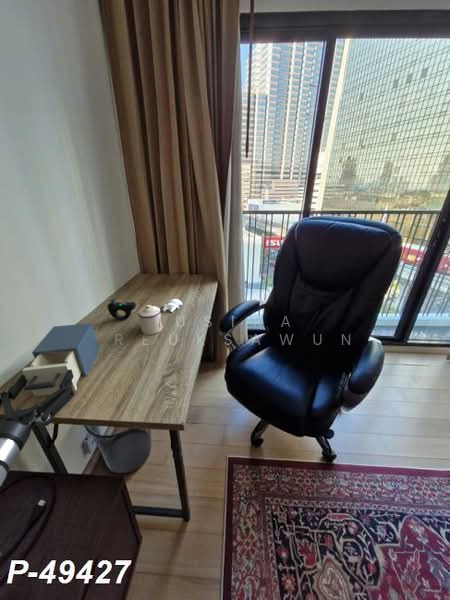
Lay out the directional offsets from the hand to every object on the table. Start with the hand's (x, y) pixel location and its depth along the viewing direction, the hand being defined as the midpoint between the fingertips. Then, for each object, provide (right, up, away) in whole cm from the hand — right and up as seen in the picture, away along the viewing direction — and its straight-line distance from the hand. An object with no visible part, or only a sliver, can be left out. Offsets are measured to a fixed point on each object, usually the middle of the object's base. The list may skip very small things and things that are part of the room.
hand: (48, 375), depth 72 cm
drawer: (-1, -4, +7) cm, 8 cm away
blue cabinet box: (-2, -1, +16) cm, 16 cm away
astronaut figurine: (+25, +18, +54) cm, 62 cm away
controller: (+4, +13, +44) cm, 46 cm away
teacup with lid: (+19, +10, +37) cm, 43 cm away
